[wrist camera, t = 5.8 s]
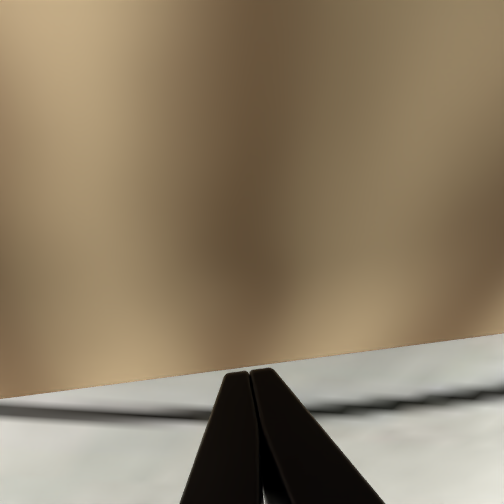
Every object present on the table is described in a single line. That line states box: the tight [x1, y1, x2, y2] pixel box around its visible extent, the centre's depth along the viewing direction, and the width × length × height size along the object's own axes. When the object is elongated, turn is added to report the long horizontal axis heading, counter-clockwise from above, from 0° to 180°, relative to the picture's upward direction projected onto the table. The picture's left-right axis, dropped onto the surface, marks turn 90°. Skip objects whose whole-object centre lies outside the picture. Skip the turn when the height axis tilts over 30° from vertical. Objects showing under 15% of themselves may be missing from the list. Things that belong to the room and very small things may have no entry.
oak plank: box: [0, 0, 504, 399], centre depth 12 cm, size 22×10×2 cm, turn 92°
